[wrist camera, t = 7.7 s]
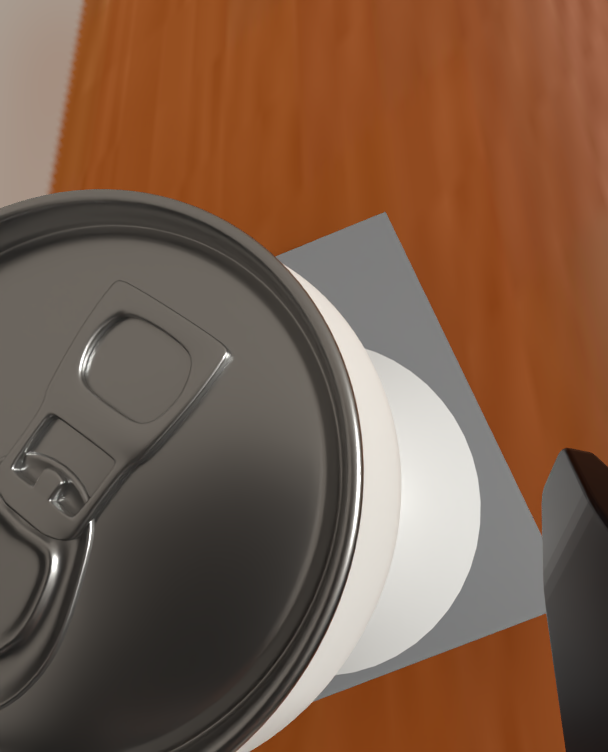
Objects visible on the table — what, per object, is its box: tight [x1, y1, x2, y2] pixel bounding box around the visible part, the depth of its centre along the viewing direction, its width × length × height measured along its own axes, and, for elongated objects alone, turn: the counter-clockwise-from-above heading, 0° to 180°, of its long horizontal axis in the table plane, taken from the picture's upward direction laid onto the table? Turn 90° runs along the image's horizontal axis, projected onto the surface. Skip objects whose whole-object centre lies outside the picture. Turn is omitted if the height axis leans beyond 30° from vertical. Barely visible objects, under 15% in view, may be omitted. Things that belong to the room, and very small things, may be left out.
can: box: [0, 189, 401, 752], centre depth 10 cm, size 6×6×12 cm
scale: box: [276, 212, 546, 701], centre depth 18 cm, size 14×12×3 cm
